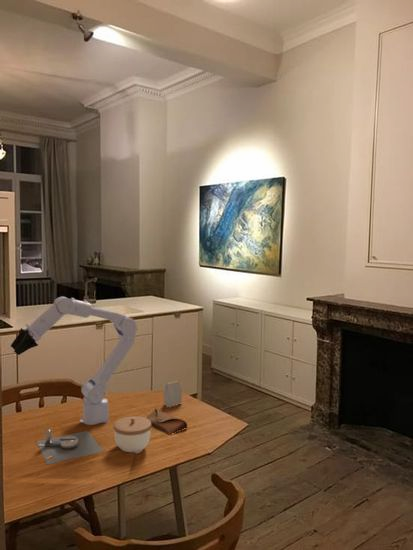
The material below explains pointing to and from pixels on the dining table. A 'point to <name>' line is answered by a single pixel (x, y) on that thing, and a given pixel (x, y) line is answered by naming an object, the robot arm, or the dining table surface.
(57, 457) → the grey square mat
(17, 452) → the dining table surface
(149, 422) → the lidded bowl
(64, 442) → the grey piece
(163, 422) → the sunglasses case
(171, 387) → the blue-gray rectangular block
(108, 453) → the dining table surface
